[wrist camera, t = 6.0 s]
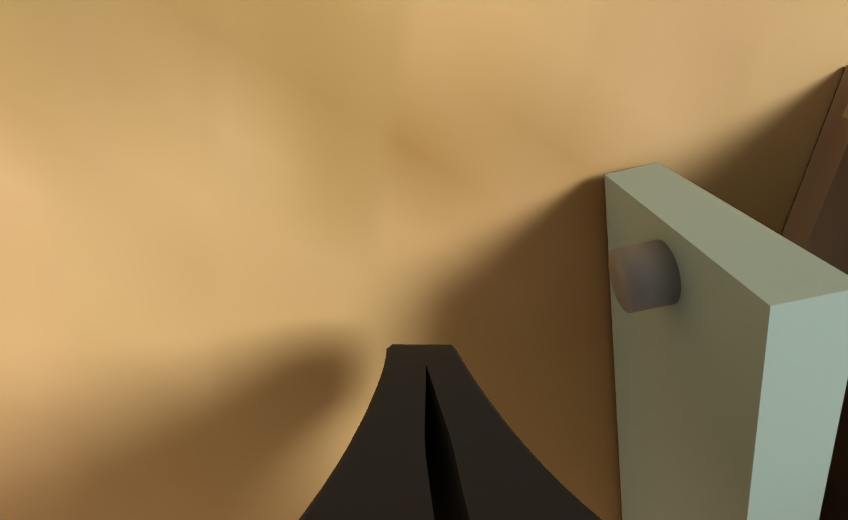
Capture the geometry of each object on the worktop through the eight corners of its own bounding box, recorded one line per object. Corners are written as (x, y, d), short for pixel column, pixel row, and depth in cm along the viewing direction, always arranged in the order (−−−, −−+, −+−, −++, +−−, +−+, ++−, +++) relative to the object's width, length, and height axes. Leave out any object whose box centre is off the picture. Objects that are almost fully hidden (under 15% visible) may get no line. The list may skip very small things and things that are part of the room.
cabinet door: (659, 553, 18) (767, 771, 13) (601, 564, 18) (685, 785, 13) (658, 162, 12) (865, 286, 7) (569, 182, 12) (707, 319, 7)
